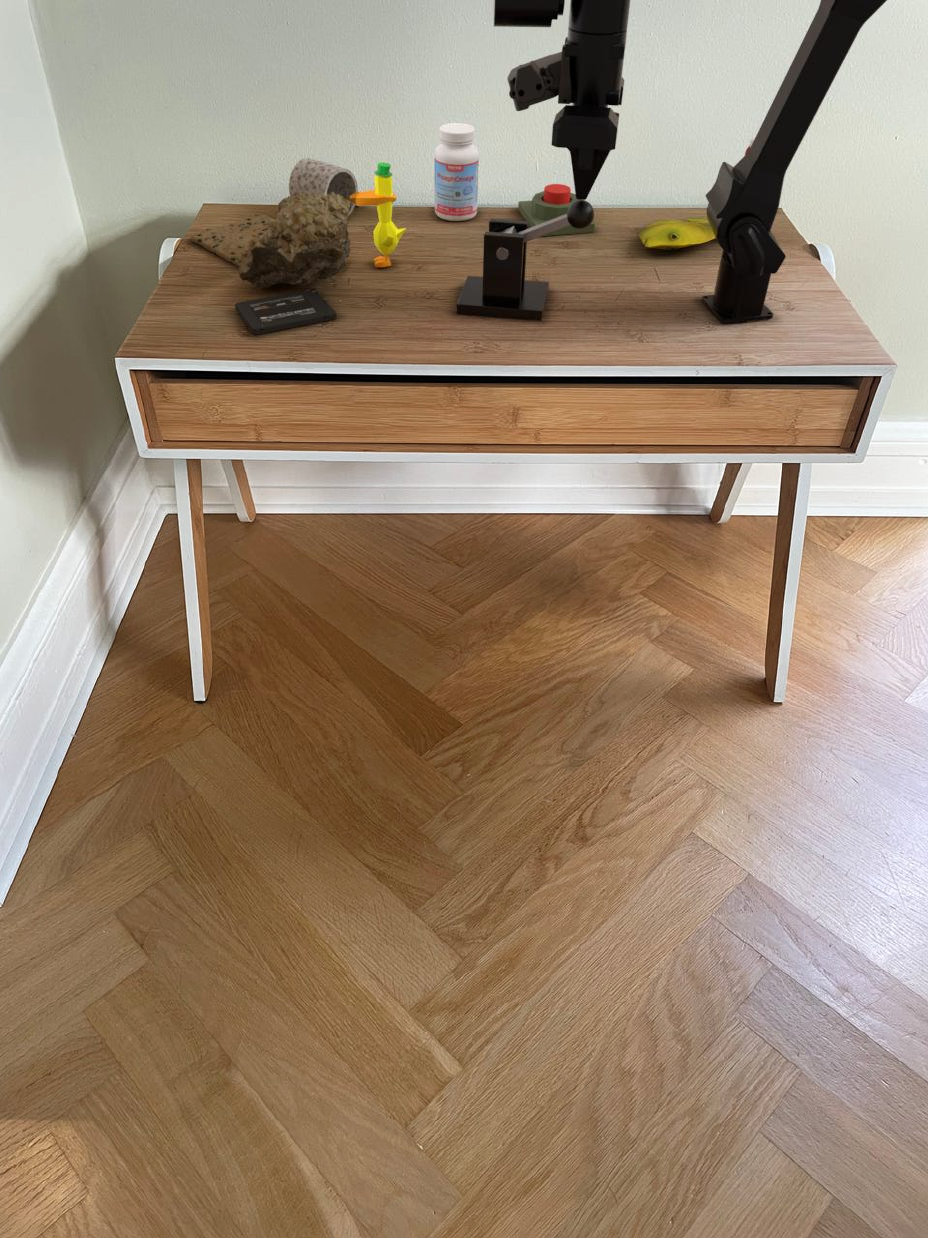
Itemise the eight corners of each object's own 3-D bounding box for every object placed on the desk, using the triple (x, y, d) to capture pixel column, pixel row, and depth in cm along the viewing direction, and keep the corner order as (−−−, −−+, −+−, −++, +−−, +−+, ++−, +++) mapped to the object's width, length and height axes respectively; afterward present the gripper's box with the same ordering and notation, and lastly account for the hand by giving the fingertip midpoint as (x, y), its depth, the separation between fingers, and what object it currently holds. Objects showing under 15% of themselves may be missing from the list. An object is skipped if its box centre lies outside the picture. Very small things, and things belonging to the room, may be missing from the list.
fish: (623, 231, 121) (698, 241, 117) (666, 203, 132) (736, 211, 128) (621, 254, 123) (695, 264, 119) (664, 224, 134) (733, 233, 130)
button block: (593, 232, 128) (596, 209, 126) (537, 236, 127) (538, 213, 125) (571, 205, 136) (573, 183, 133) (518, 209, 134) (519, 187, 132)
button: (573, 205, 129) (574, 191, 127) (547, 207, 128) (548, 193, 127) (565, 195, 131) (566, 182, 130) (540, 197, 131) (541, 184, 129)
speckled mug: (284, 203, 130) (319, 215, 127) (294, 152, 128) (330, 162, 125) (331, 217, 138) (365, 228, 135) (342, 169, 136) (377, 179, 133)
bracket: (548, 291, 115) (553, 217, 109) (541, 320, 109) (547, 244, 103) (467, 284, 116) (468, 211, 110) (456, 313, 110) (456, 237, 104)
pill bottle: (434, 222, 130) (433, 134, 123) (435, 205, 135) (434, 120, 127) (477, 222, 130) (479, 135, 123) (477, 206, 135) (479, 120, 127)
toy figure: (356, 271, 118) (349, 170, 110) (353, 260, 120) (346, 160, 112) (409, 267, 119) (406, 167, 111) (405, 256, 121) (402, 157, 113)
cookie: (318, 243, 125) (317, 235, 124) (241, 268, 119) (240, 261, 118) (266, 217, 131) (265, 209, 130) (189, 240, 125) (188, 232, 124)
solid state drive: (253, 329, 105) (253, 335, 105) (337, 312, 108) (337, 318, 109) (233, 302, 109) (234, 308, 110) (315, 288, 113) (315, 293, 113)
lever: (598, 217, 105) (589, 191, 104) (597, 227, 103) (587, 201, 102) (501, 254, 110) (491, 230, 108) (497, 265, 108) (487, 240, 106)
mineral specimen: (270, 221, 122) (256, 148, 113) (368, 231, 121) (361, 159, 112) (239, 297, 114) (221, 225, 106) (343, 309, 113) (333, 238, 105)
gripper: (526, 4, 100) (518, 161, 110) (503, 46, 86) (497, 220, 97) (632, 9, 98) (614, 167, 109) (625, 52, 85) (606, 228, 96)
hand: (582, 193), depth 103 cm, fingers open, 3 cm apart
